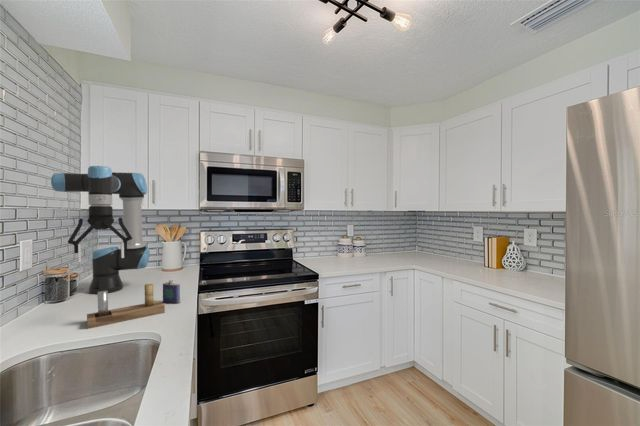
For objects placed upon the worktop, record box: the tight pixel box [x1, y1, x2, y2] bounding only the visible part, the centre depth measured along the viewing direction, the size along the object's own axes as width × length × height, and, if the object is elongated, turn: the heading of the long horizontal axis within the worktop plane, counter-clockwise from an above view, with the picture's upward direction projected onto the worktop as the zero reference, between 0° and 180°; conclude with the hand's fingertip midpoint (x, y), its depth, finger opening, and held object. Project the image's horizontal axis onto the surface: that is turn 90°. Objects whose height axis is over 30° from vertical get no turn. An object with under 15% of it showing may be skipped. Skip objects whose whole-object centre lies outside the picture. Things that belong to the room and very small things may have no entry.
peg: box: [97, 291, 109, 317], centre depth 117 cm, size 3×3×12 cm
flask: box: [162, 280, 181, 305], centre depth 140 cm, size 9×3×11 cm, turn 74°
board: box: [86, 283, 166, 329], centre depth 122 cm, size 9×26×12 cm, turn 130°
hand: (102, 259), depth 117 cm, fingers open, 13 cm apart
